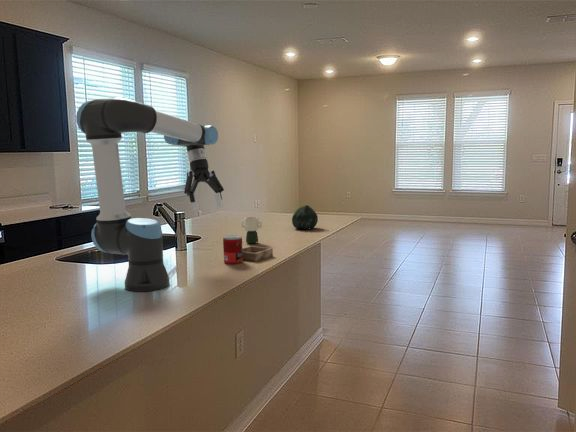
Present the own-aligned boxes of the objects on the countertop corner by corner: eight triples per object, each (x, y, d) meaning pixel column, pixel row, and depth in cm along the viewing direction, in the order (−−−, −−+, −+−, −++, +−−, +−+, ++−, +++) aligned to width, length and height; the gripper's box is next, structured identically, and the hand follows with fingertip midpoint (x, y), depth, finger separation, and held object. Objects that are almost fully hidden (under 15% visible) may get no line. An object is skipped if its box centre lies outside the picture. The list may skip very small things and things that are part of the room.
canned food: (239, 264, 204) (239, 238, 202) (221, 264, 205) (220, 237, 204) (245, 260, 211) (244, 235, 210) (227, 260, 213) (226, 234, 211)
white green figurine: (264, 242, 252) (264, 217, 250) (259, 245, 245) (259, 218, 243) (244, 241, 255) (244, 216, 253) (239, 244, 248) (238, 218, 247)
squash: (294, 217, 302) (292, 200, 291) (318, 218, 300) (318, 201, 289) (291, 235, 293) (289, 219, 282) (317, 236, 291) (316, 220, 280)
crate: (255, 261, 208) (255, 253, 208) (233, 258, 215) (233, 250, 215) (272, 256, 218) (272, 248, 218) (251, 253, 225) (251, 245, 225)
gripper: (180, 157, 200) (191, 208, 199) (225, 158, 220) (235, 204, 218) (169, 163, 205) (179, 212, 204) (214, 163, 225) (224, 208, 223)
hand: (208, 208), depth 211 cm, fingers open, 13 cm apart
